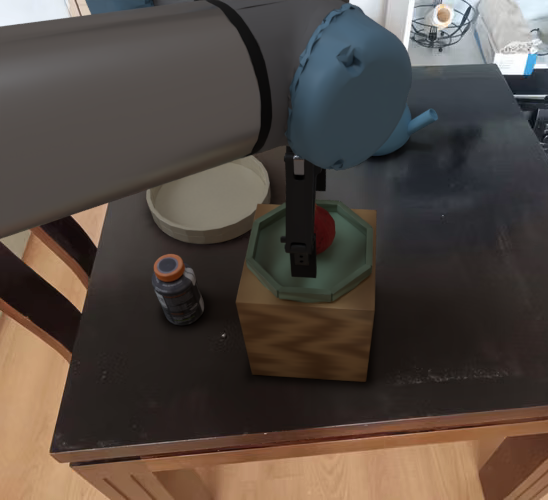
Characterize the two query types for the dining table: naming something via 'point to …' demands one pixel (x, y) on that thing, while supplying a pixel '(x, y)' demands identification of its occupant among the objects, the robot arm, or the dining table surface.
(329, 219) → the onion
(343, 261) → the stand
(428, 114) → the teapot
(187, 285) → the pill bottle
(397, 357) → the dining table surface
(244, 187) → the cream bowl
